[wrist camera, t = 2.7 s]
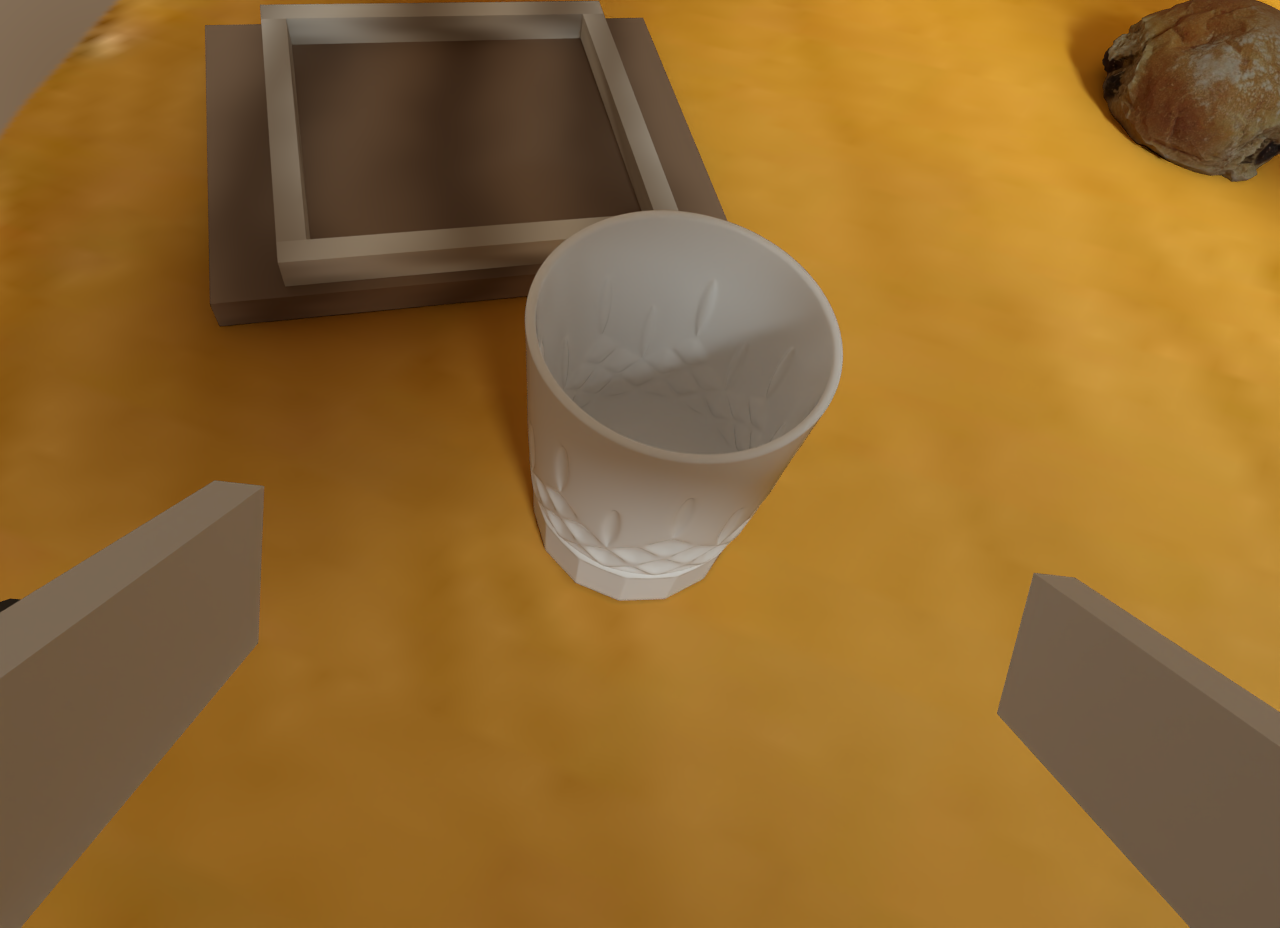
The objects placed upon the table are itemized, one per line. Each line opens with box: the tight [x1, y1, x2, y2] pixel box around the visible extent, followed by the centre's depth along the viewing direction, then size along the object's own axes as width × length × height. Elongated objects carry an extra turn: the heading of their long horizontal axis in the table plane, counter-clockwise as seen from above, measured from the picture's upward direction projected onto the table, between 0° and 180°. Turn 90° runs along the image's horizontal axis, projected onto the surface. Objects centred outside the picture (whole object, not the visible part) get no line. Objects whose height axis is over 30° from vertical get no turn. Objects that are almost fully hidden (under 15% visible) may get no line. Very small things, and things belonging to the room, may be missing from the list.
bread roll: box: [1102, 0, 1280, 182], centre depth 45 cm, size 10×10×8 cm
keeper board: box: [205, 1, 727, 326], centre depth 36 cm, size 20×16×2 cm
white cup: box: [525, 210, 843, 600], centre depth 25 cm, size 8×8×10 cm
